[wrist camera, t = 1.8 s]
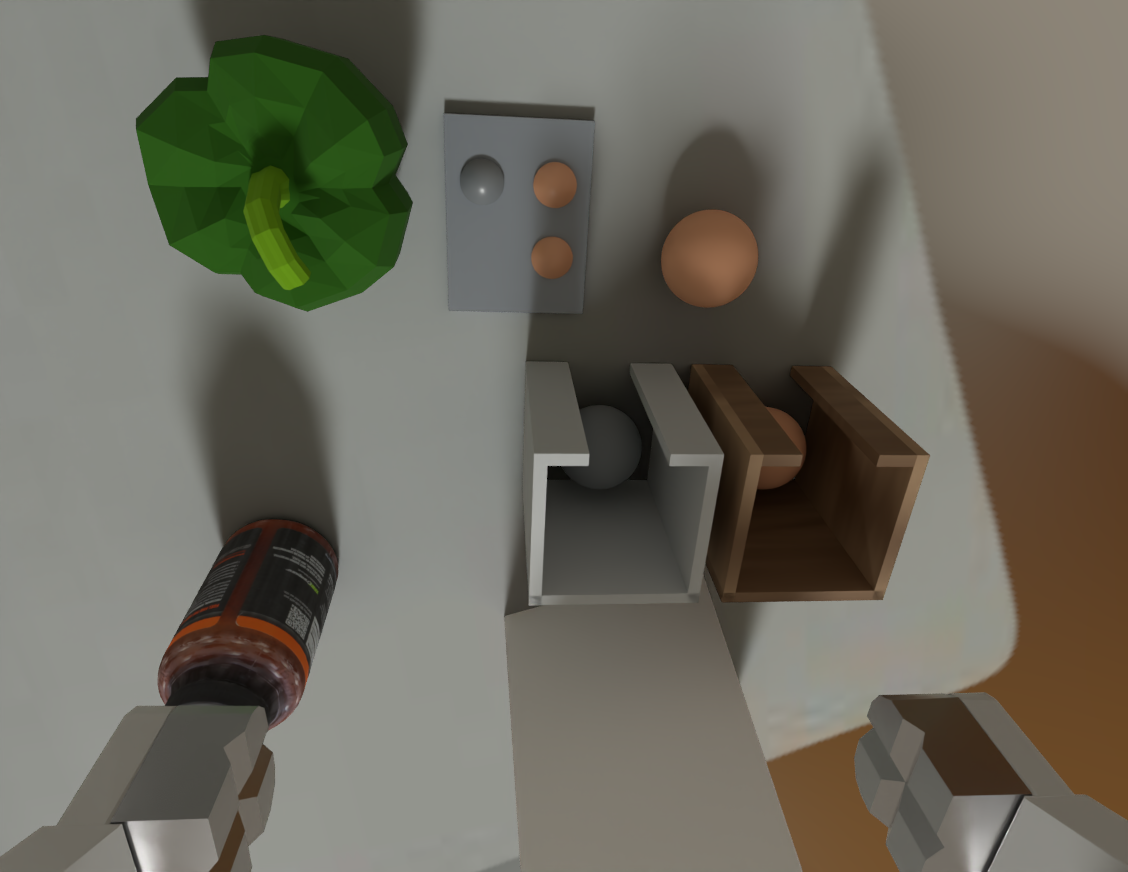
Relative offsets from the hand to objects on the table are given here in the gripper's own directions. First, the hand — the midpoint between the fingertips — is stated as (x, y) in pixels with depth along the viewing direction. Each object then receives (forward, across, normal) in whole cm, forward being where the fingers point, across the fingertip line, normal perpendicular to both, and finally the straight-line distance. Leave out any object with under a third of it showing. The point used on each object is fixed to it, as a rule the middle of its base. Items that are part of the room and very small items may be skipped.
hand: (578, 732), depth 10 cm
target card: (+24, 0, -3) cm, 25 cm away
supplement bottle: (+25, +12, +15) cm, 32 cm away
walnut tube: (+25, -12, +7) cm, 28 cm away
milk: (+26, -7, +23) cm, 35 cm away
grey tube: (+25, -4, +7) cm, 26 cm away
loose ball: (+25, -8, -2) cm, 26 cm away
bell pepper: (+25, +8, -5) cm, 27 cm away
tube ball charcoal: (+25, -4, +7) cm, 26 cm away
